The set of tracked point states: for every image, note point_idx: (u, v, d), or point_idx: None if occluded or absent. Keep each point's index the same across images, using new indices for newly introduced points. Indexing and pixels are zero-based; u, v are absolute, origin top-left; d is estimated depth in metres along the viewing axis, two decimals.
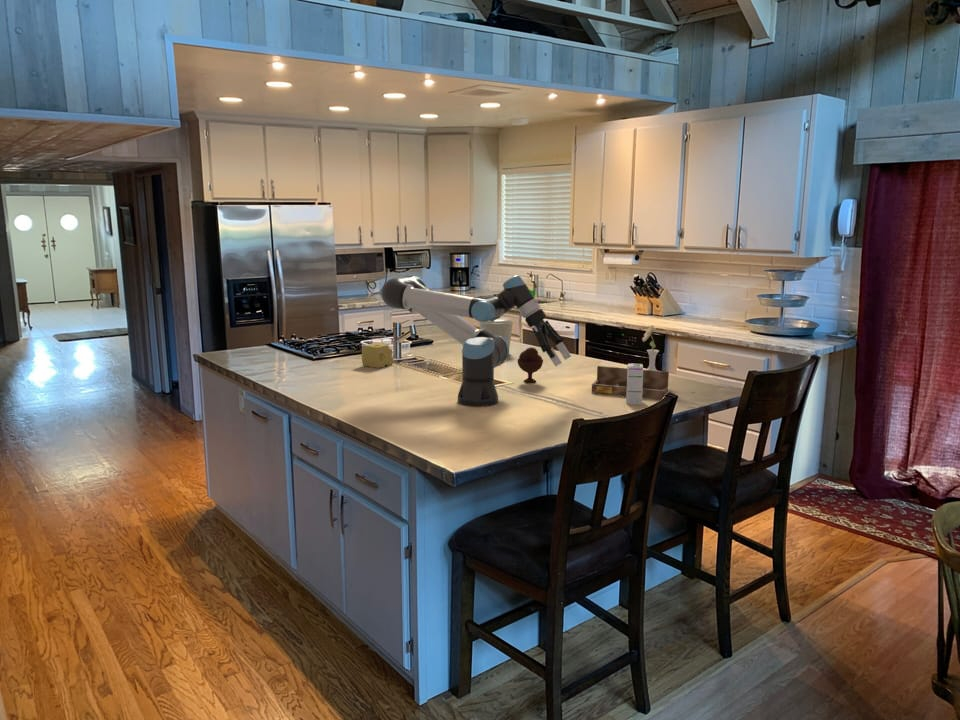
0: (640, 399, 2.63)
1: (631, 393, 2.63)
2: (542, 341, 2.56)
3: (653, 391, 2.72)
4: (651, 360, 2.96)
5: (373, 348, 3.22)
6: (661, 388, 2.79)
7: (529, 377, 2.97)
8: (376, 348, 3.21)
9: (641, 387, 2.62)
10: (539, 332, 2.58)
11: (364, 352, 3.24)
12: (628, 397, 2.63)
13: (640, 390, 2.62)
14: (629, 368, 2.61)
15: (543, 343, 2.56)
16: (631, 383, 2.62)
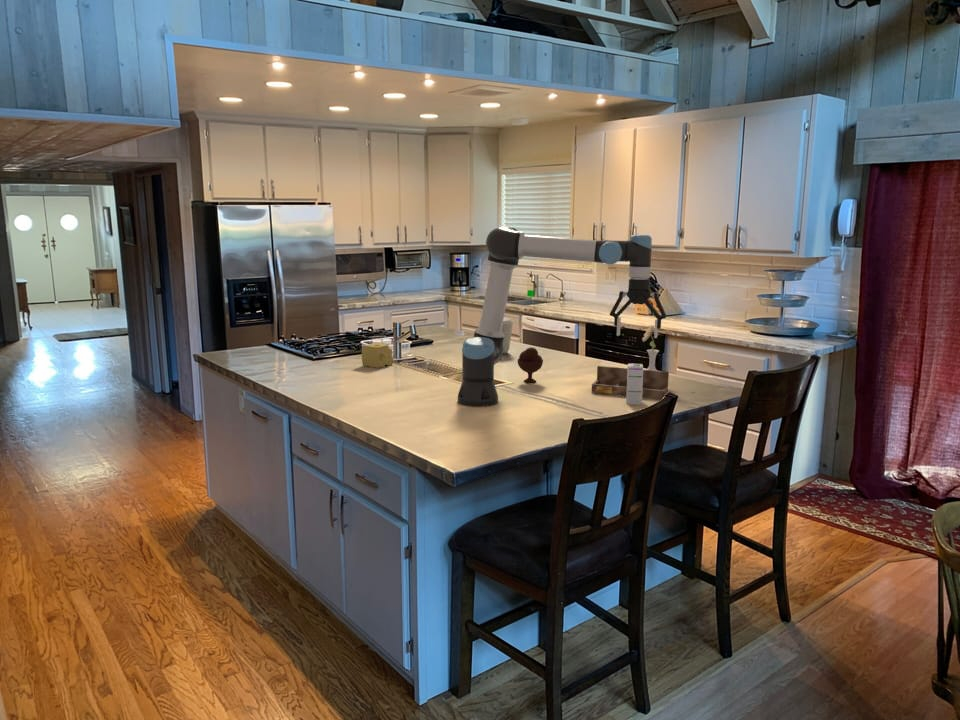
0: (640, 399, 2.63)
1: (631, 393, 2.63)
2: (663, 309, 2.56)
3: (653, 391, 2.72)
4: (651, 360, 2.96)
5: (373, 348, 3.22)
6: (661, 388, 2.79)
7: (529, 377, 2.97)
8: (376, 348, 3.21)
9: (641, 387, 2.62)
10: (659, 300, 2.56)
11: (364, 352, 3.24)
12: (628, 397, 2.63)
13: (640, 390, 2.62)
14: (629, 368, 2.61)
15: (664, 311, 2.56)
16: (631, 383, 2.62)
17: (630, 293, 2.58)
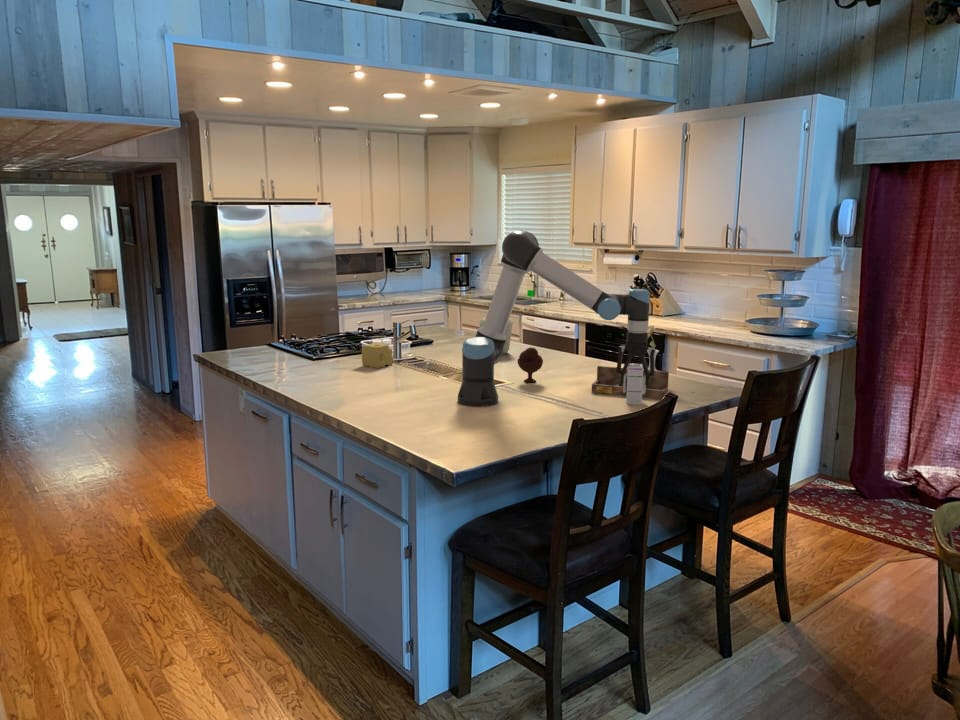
0: (640, 399, 2.63)
1: (631, 393, 2.63)
2: (654, 367, 2.61)
3: (653, 391, 2.72)
4: None
5: (373, 348, 3.22)
6: (661, 388, 2.79)
7: (529, 377, 2.97)
8: (376, 348, 3.21)
9: (641, 387, 2.62)
10: (653, 356, 2.61)
11: (364, 352, 3.24)
12: (628, 397, 2.63)
13: (640, 390, 2.62)
14: (629, 368, 2.61)
15: (654, 369, 2.61)
16: (631, 382, 2.62)
17: (628, 345, 2.62)
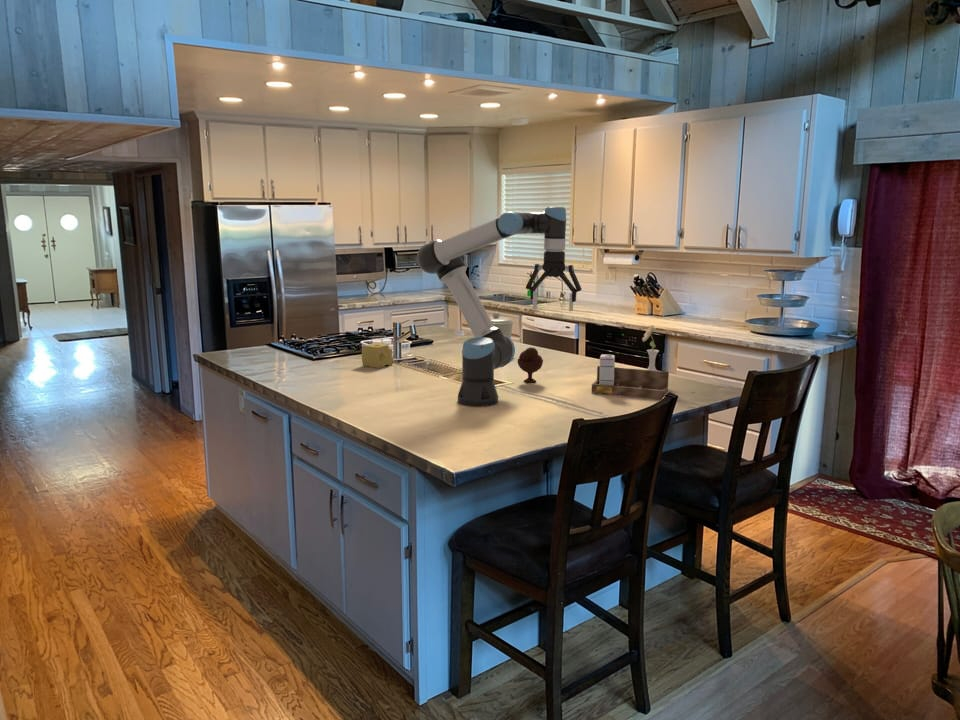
0: None
1: (603, 382, 2.80)
2: (578, 282, 2.54)
3: (653, 391, 2.72)
4: (651, 360, 2.96)
5: (373, 348, 3.22)
6: (661, 388, 2.79)
7: (529, 377, 2.97)
8: (376, 348, 3.21)
9: (612, 376, 2.79)
10: None
11: (364, 352, 3.24)
12: None
13: (611, 379, 2.79)
14: (601, 358, 2.79)
15: (579, 284, 2.54)
16: (603, 372, 2.79)
17: (545, 266, 2.56)
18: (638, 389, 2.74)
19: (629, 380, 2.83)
